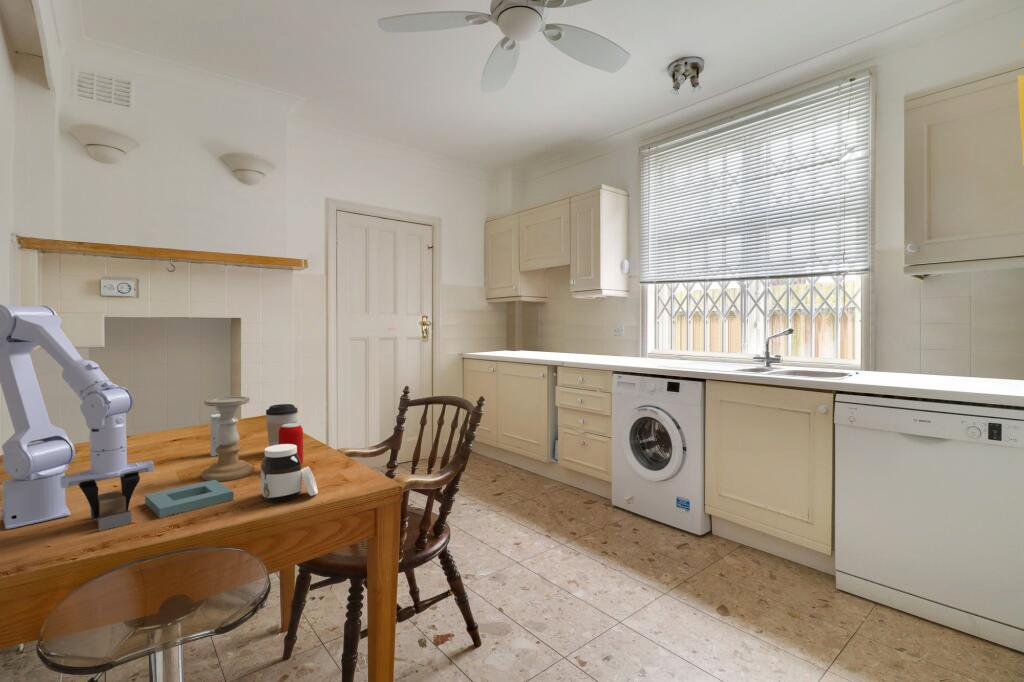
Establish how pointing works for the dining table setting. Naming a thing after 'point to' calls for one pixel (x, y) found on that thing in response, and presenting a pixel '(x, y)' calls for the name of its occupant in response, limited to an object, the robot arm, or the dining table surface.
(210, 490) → the socket board
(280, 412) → the coffee cup
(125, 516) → the metal stand
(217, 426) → the skincare box
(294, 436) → the beverage can
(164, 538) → the dining table surface
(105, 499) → the walnut block
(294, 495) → the spread jar
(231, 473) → the candle holder
